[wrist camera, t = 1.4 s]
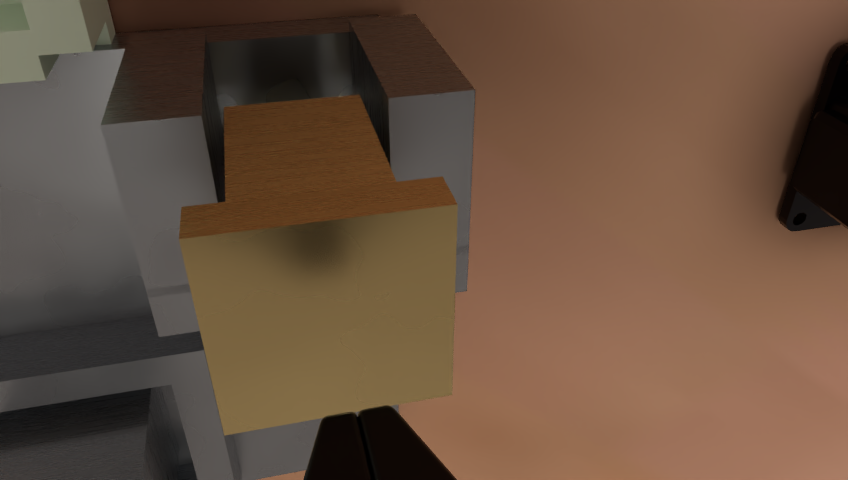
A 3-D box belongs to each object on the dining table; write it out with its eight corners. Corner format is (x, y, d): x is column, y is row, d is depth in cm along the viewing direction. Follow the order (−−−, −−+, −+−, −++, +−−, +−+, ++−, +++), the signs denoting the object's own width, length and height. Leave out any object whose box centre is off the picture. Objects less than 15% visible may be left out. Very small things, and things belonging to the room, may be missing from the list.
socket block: (405, 0, 18) (474, 89, 13) (411, 423, 26) (455, 572, 21) (-227, 43, 15) (-438, 175, 10) (8, 497, 24) (-46, 686, 19)
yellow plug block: (383, 68, 14) (457, 204, 10) (388, 224, 16) (452, 395, 12) (191, 83, 13) (178, 239, 9) (222, 245, 15) (223, 435, 11)
